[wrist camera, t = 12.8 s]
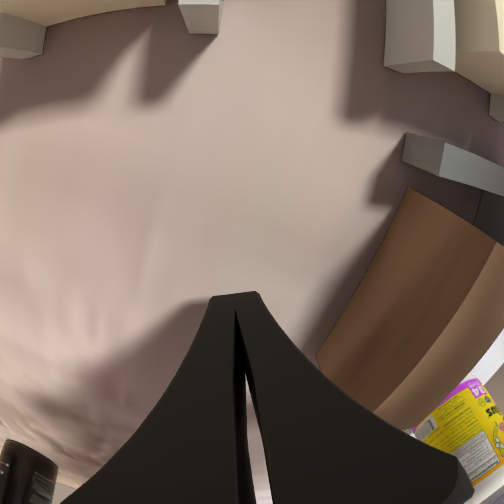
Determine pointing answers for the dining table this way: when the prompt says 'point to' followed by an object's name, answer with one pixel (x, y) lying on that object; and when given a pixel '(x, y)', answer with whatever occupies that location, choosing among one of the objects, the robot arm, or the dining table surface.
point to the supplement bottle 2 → (469, 435)
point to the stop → (463, 177)
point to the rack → (396, 38)
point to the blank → (418, 314)
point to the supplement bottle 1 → (25, 476)
